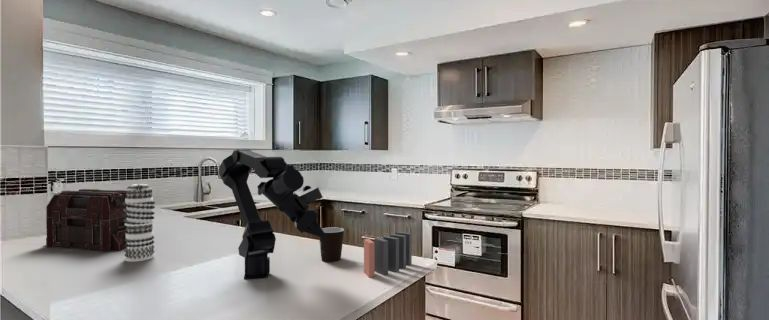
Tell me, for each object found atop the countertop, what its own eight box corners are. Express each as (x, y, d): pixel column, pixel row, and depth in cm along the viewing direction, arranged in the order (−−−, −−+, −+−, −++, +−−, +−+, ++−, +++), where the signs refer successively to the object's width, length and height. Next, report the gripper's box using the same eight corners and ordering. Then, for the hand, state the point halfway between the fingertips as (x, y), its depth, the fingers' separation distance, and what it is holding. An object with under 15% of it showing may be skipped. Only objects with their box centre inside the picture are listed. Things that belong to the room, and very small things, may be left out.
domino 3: (395, 272, 116) (395, 239, 116) (383, 268, 119) (383, 236, 119) (399, 270, 117) (399, 238, 117) (386, 267, 120) (386, 235, 120)
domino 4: (403, 268, 119) (403, 236, 119) (389, 266, 122) (389, 234, 122) (405, 267, 121) (406, 235, 120) (391, 264, 123) (392, 233, 123)
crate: (37, 247, 145) (36, 192, 144) (87, 236, 163) (86, 187, 163) (112, 253, 136) (111, 194, 136) (155, 241, 155) (155, 189, 154)
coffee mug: (339, 263, 124) (339, 233, 124) (314, 262, 126) (314, 231, 125) (349, 254, 135) (349, 226, 135) (326, 253, 137) (326, 225, 137)
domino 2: (383, 275, 113) (383, 241, 112) (374, 271, 117) (374, 238, 117) (388, 274, 114) (388, 240, 113) (378, 270, 118) (378, 237, 118)
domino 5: (409, 265, 123) (409, 234, 123) (395, 262, 125) (395, 232, 125) (411, 263, 124) (411, 233, 124) (397, 261, 127) (397, 231, 126)
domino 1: (369, 277, 111) (369, 243, 111) (363, 272, 115) (364, 239, 115) (374, 276, 111) (374, 242, 111) (369, 271, 116) (369, 238, 116)
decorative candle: (137, 263, 124) (136, 186, 124) (116, 260, 127) (115, 185, 127) (161, 255, 133) (161, 183, 132) (142, 253, 136) (141, 182, 135)
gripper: (310, 179, 97) (352, 219, 102) (299, 174, 115) (335, 209, 119) (278, 211, 95) (322, 252, 99) (272, 202, 112) (310, 236, 116)
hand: (323, 235), depth 108 cm, fingers open, 3 cm apart
